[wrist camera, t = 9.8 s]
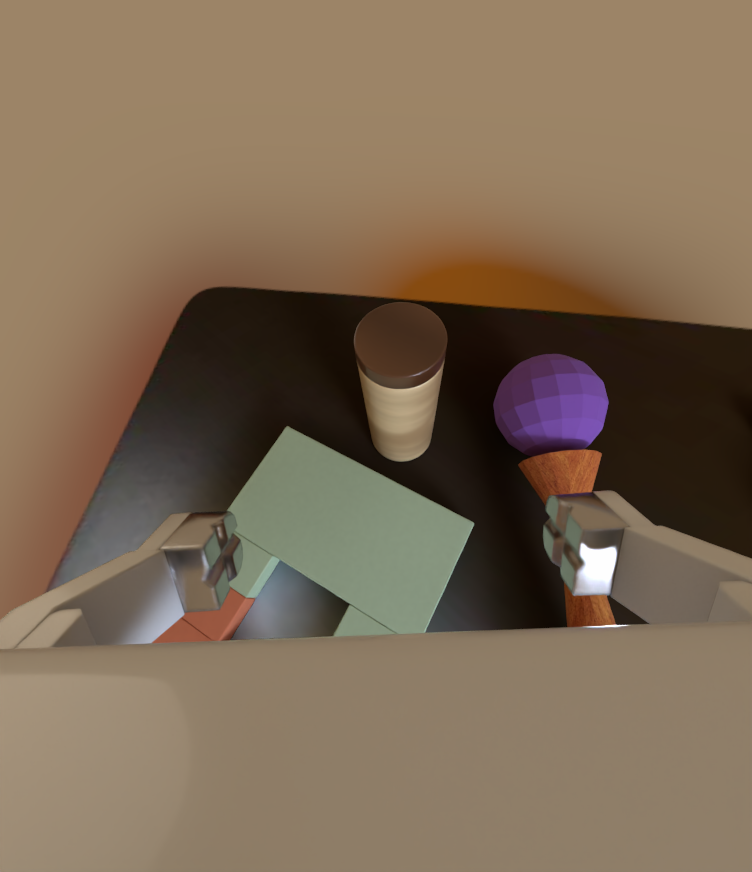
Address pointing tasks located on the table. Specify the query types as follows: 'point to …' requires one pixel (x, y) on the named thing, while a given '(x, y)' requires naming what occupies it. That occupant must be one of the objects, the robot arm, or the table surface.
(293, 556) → the sage pad
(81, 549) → the table surface
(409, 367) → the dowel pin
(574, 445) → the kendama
